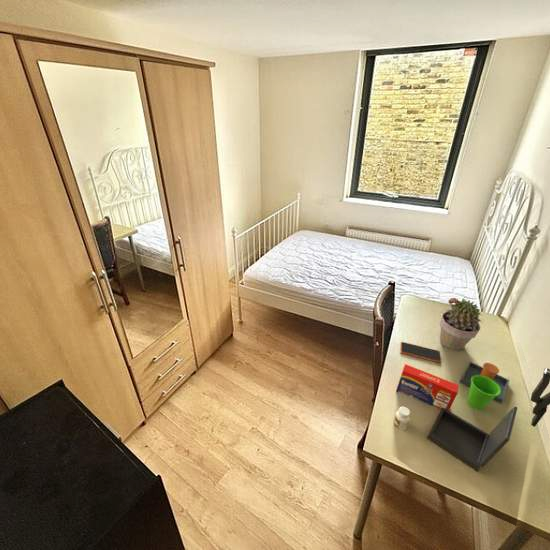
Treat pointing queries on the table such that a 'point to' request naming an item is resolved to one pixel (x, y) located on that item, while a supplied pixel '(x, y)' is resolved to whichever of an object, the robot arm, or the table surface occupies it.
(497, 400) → the tray
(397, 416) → the pill bottle
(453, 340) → the potted plant
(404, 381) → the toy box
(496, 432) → the lid
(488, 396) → the cup
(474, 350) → the table surface
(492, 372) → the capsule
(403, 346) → the smartphone
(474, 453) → the dark grey box base
